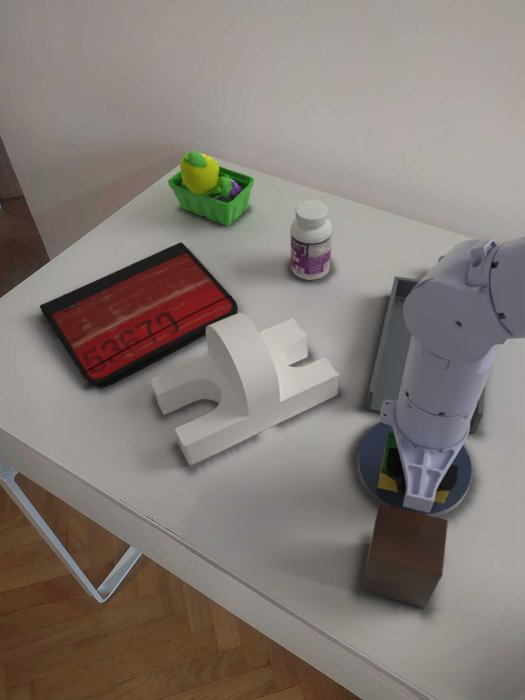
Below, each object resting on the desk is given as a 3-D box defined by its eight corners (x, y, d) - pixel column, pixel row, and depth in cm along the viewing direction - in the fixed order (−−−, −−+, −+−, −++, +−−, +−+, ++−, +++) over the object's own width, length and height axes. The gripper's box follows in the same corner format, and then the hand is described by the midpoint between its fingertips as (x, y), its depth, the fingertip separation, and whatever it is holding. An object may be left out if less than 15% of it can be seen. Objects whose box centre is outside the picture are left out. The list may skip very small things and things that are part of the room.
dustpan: (475, 432, 60) (483, 414, 57) (366, 409, 63) (368, 391, 60) (487, 275, 76) (493, 255, 73) (399, 262, 78) (402, 242, 76)
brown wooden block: (425, 608, 49) (442, 574, 43) (361, 590, 50) (369, 555, 44) (431, 558, 52) (448, 519, 46) (370, 542, 53) (378, 502, 47)
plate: (465, 532, 53) (468, 527, 52) (347, 503, 56) (348, 497, 55) (472, 434, 60) (475, 428, 59) (367, 412, 62) (368, 406, 62)
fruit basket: (259, 206, 88) (254, 138, 80) (225, 238, 84) (216, 169, 75) (200, 186, 93) (190, 119, 84) (165, 215, 88) (150, 147, 80)
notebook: (37, 303, 73) (180, 238, 80) (43, 315, 75) (183, 251, 82) (90, 386, 65) (244, 306, 72) (95, 398, 66) (245, 318, 74)
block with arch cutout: (293, 339, 70) (292, 270, 62) (337, 395, 64) (342, 327, 56) (155, 399, 65) (134, 333, 57) (189, 466, 59) (171, 403, 51)
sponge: (444, 503, 52) (451, 485, 49) (377, 487, 53) (381, 469, 50) (448, 465, 54) (455, 446, 52) (384, 451, 56) (388, 431, 53)
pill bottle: (284, 262, 79) (282, 203, 72) (318, 251, 81) (319, 191, 73) (302, 286, 76) (302, 227, 69) (337, 273, 77) (341, 214, 70)
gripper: (400, 309, 48) (383, 403, 59) (370, 454, 40) (356, 535, 50) (487, 324, 47) (454, 418, 57) (477, 479, 38) (440, 557, 48)
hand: (414, 474), depth 53 cm, fingers closed on sponge, 4 cm apart
